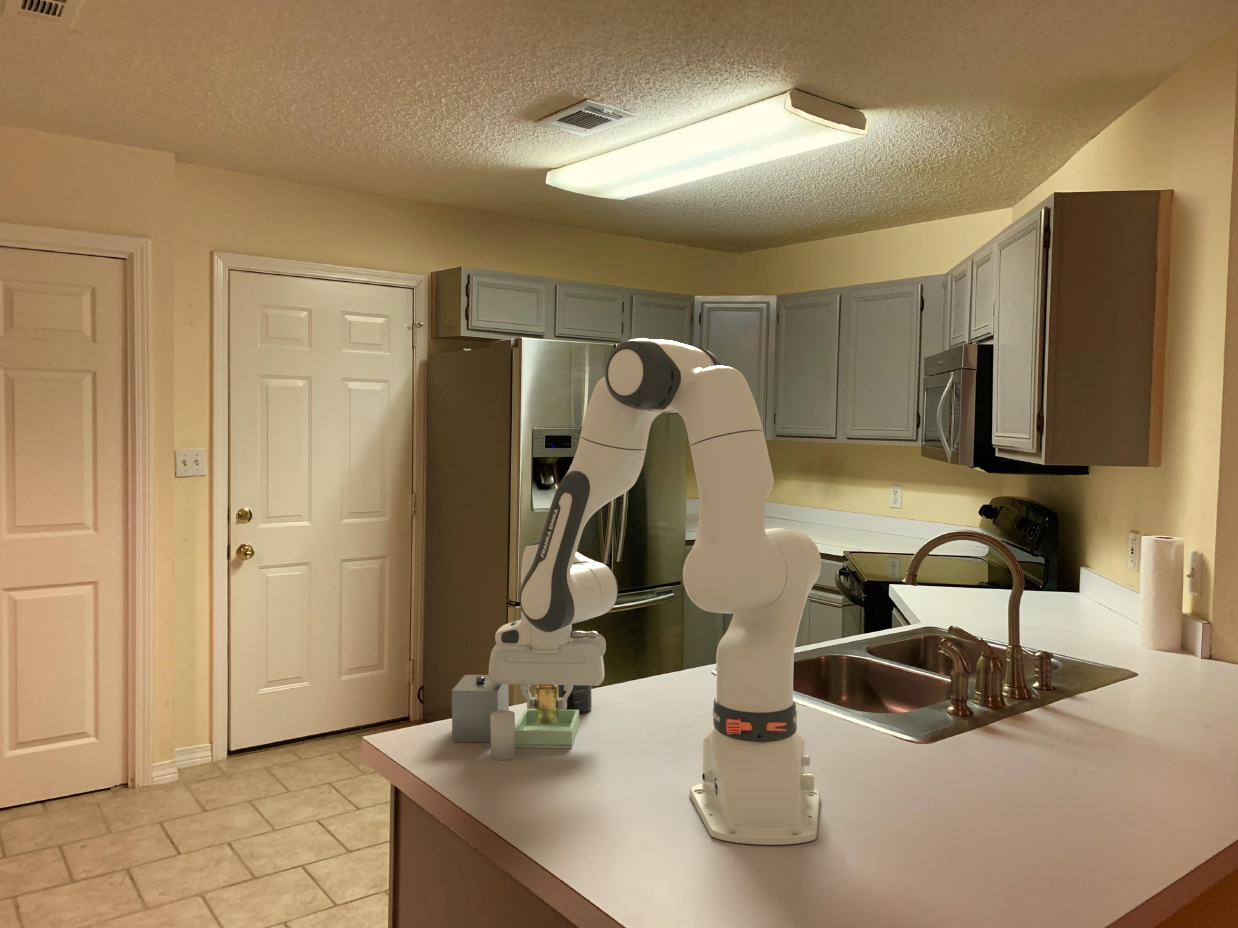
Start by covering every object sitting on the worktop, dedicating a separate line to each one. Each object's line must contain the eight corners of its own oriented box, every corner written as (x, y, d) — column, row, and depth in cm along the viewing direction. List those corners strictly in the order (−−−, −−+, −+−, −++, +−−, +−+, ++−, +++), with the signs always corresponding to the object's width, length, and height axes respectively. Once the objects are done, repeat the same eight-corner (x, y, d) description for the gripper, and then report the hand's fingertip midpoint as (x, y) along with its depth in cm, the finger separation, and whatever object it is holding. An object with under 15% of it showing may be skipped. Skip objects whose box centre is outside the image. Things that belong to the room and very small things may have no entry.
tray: (571, 748, 152) (571, 731, 152) (513, 746, 153) (513, 730, 153) (579, 724, 164) (579, 709, 164) (525, 723, 165) (524, 708, 165)
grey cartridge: (512, 760, 147) (512, 717, 147) (488, 759, 147) (488, 717, 147) (517, 751, 151) (516, 710, 151) (493, 751, 151) (493, 709, 151)
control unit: (498, 742, 155) (497, 685, 155) (452, 741, 156) (451, 684, 155) (509, 722, 166) (508, 669, 165) (466, 722, 166) (465, 668, 166)
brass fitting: (556, 724, 157) (556, 685, 156) (534, 723, 157) (533, 685, 157) (559, 716, 161) (559, 679, 160) (537, 716, 161) (537, 678, 161)
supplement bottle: (593, 704, 177) (593, 643, 176) (589, 715, 170) (588, 652, 169) (559, 703, 177) (558, 643, 177) (553, 714, 170) (552, 651, 170)
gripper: (606, 627, 161) (607, 703, 161) (493, 626, 162) (494, 702, 162) (604, 635, 154) (604, 715, 155) (486, 634, 156) (486, 713, 156)
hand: (547, 708), depth 159 cm, fingers closed on brass fitting, 4 cm apart
